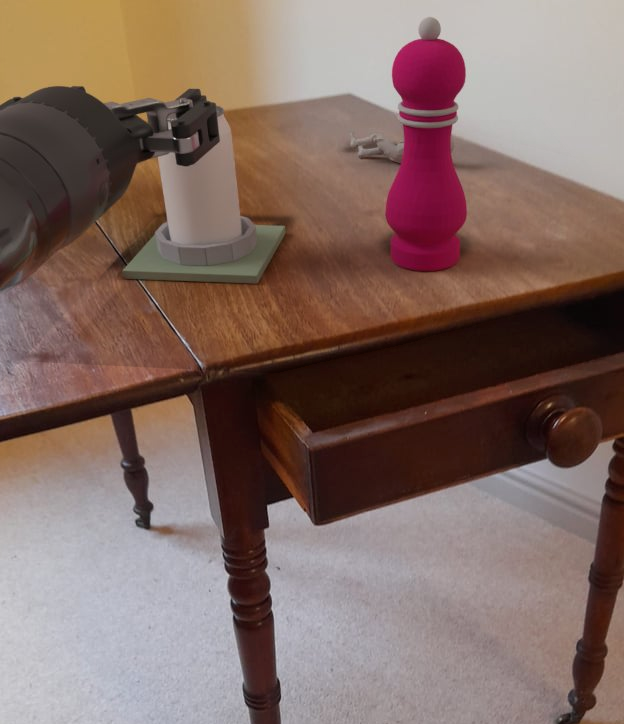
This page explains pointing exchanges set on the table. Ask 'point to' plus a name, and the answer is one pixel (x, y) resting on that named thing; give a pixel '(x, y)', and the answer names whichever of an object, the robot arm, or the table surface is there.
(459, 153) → the table surface
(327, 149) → the table surface
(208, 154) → the can
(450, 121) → the pepper mill
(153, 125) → the robot arm
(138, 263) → the dock pad
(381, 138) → the soldier figure
